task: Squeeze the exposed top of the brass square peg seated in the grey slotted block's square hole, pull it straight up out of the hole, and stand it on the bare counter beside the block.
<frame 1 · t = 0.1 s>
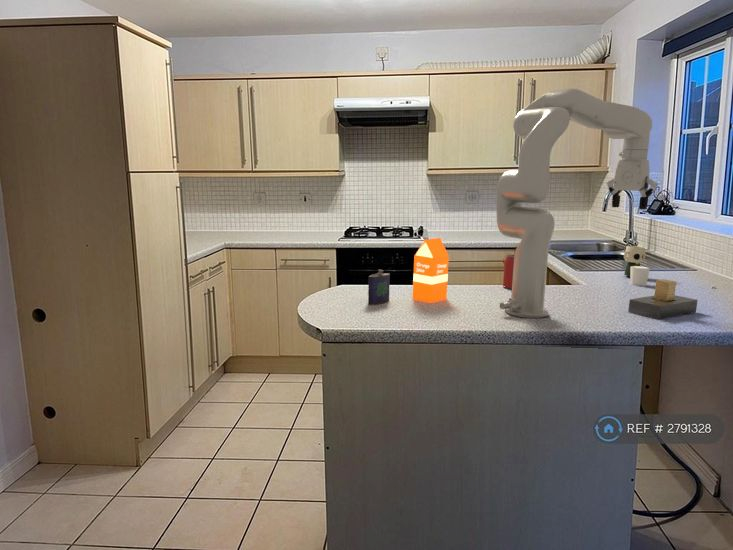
hand: (628, 208, 183), 31 cm above the worktop, fingers open, 9 cm apart
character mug: (632, 277, 232), on the worktop
brass peg: (664, 296, 171), in the grey slotted block
white piece: (638, 285, 216), on the worktop
orange juice: (429, 299, 181), on the worktop
grey slotted block: (662, 312, 172), on the worktop
flask: (378, 303, 174), on the worktop
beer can: (511, 288, 204), on the worktop
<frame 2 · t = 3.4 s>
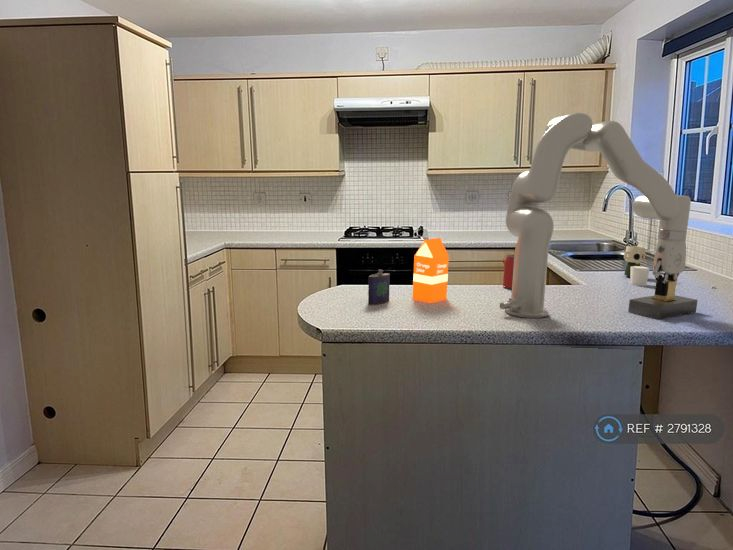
hand: (664, 293, 171), 6 cm above the worktop, fingers closed on brass peg, 4 cm apart
brass peg: (664, 296, 171), in the grey slotted block, touching gripper
everything else where it was.
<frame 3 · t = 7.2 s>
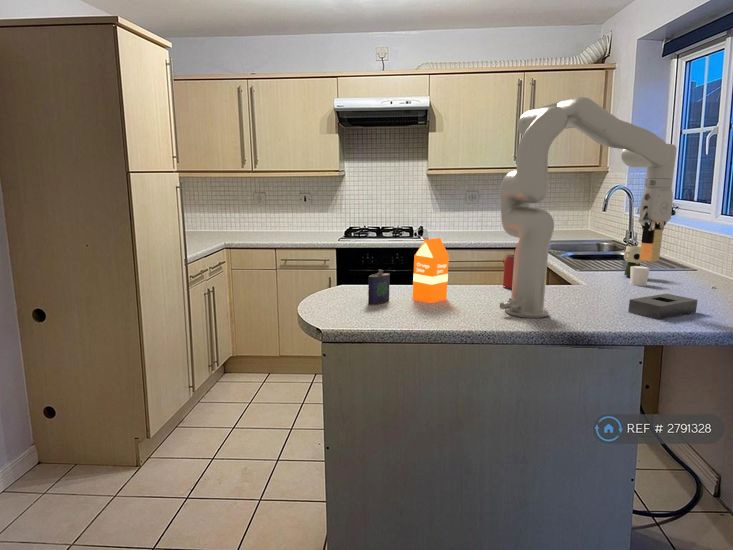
hand: (651, 242, 174), 21 cm above the worktop, fingers closed on brass peg, 4 cm apart
brass peg: (651, 244, 174), point 20 cm above the worktop, touching gripper
everything else where it was.
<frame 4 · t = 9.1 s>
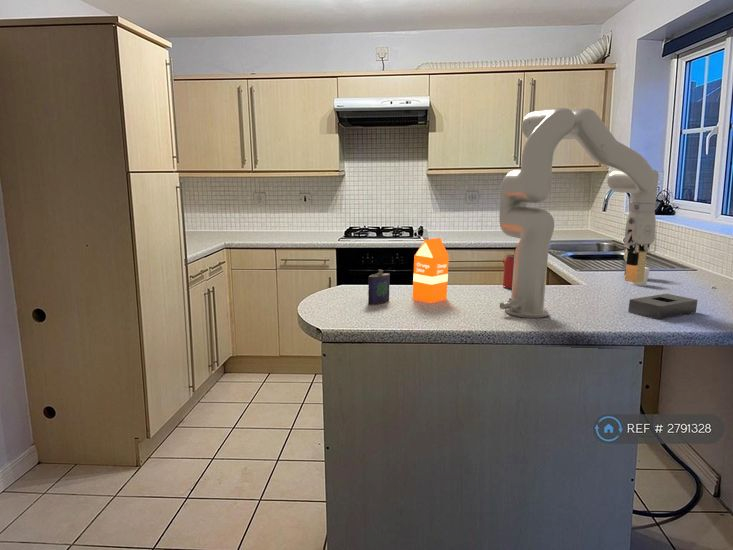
hand: (635, 263, 180), 13 cm above the worktop, fingers closed on brass peg, 4 cm apart
brass peg: (635, 266, 181), point 12 cm above the worktop, touching gripper
everything else where it was.
when the fingers open (7 cm above the worktop, at t = 10.9 s): brass peg drops 1 cm, on the worktop.
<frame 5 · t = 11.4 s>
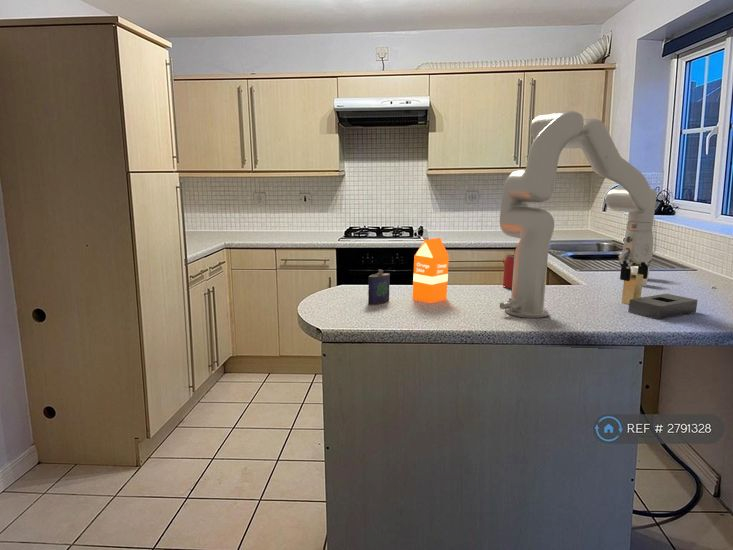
hand: (633, 279, 181), 8 cm above the worktop, fingers open, 9 cm apart
brass peg: (632, 288, 182), on the worktop
everything else where it was.
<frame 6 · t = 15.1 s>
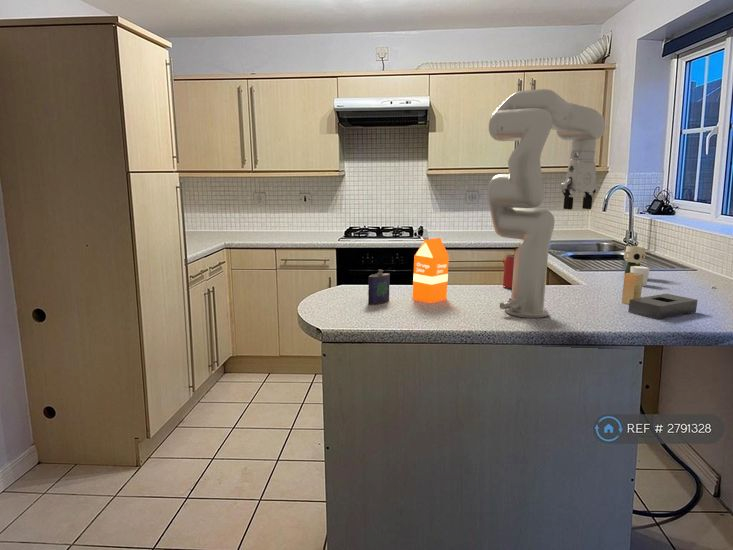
hand: (577, 209, 185), 30 cm above the worktop, fingers open, 9 cm apart
nothing on the worktop moved.
at the end: brass peg inside the target area (0.0 cm from its centre), on the worktop; brass peg tilted 0°; the gripper is holding nothing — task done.
